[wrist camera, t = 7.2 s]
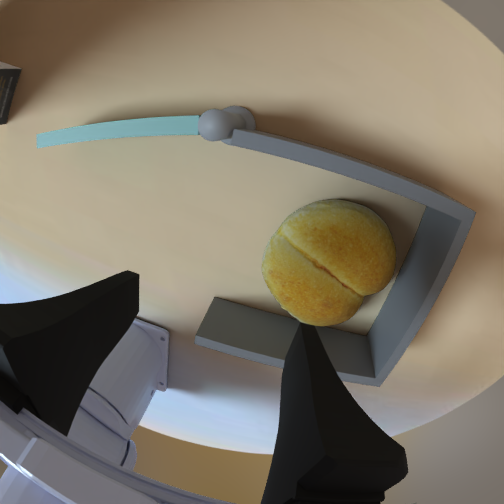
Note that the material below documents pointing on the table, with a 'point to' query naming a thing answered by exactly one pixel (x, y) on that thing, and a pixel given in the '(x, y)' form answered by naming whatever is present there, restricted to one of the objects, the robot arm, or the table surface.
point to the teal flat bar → (150, 128)
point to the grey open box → (399, 299)
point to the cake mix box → (7, 88)
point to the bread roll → (328, 261)
